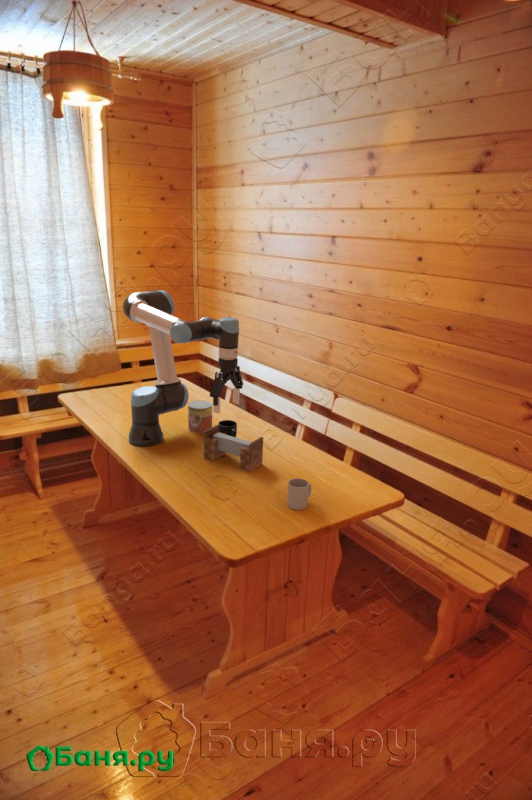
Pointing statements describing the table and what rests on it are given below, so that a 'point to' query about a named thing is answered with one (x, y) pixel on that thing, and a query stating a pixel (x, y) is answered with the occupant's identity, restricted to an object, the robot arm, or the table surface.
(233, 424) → the mug
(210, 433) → the post head
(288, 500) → the cup
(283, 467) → the table surface
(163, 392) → the robot arm
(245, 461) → the post foot
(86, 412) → the table surface
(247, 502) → the table surface
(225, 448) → the rail
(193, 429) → the canned food
